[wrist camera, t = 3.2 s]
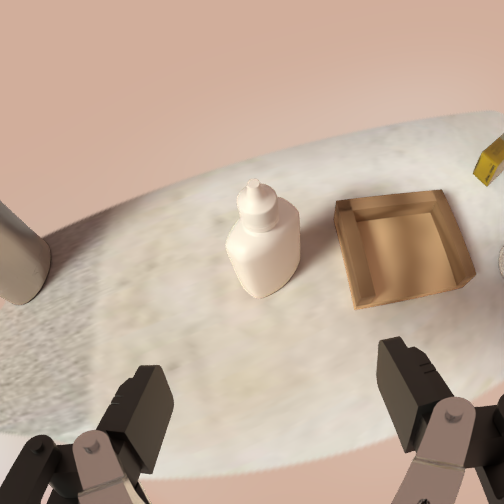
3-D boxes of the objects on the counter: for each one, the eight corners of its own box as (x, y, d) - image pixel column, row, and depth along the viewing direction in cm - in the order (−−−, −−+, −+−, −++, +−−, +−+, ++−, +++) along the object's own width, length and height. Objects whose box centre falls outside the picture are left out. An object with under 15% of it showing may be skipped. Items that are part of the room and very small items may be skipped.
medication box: (504, 143, 32) (513, 123, 28) (517, 155, 31) (527, 135, 27) (470, 174, 30) (482, 151, 27) (486, 188, 29) (499, 166, 25)
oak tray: (354, 310, 25) (360, 298, 22) (333, 219, 29) (336, 200, 27) (462, 287, 24) (476, 274, 22) (432, 207, 28) (441, 189, 26)
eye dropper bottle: (235, 260, 29) (198, 170, 18) (294, 242, 29) (289, 145, 18) (246, 304, 27) (211, 229, 16) (310, 285, 27) (315, 199, 16)
